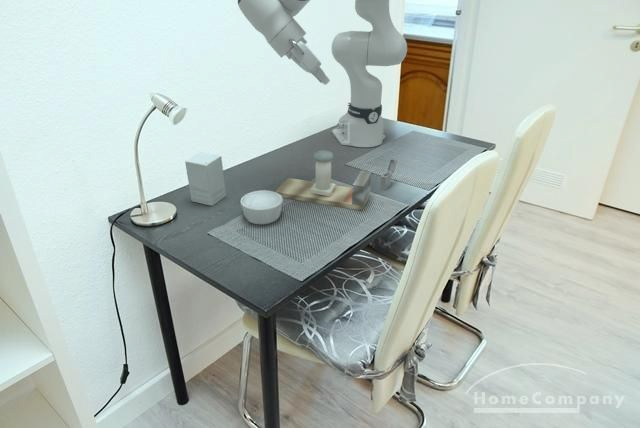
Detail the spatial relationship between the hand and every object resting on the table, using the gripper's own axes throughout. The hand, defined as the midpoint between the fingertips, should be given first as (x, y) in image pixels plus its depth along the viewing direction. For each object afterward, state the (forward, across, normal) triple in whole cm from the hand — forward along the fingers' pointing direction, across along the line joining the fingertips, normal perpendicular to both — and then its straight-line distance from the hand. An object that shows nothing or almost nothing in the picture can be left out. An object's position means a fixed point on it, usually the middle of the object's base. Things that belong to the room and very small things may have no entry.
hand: (325, 82), depth 119 cm
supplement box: (+2, +5, +47) cm, 47 cm away
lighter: (+37, +9, +6) cm, 38 cm away
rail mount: (+24, +4, +22) cm, 33 cm away
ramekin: (+14, -6, +37) cm, 40 cm away
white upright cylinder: (+22, +3, +21) cm, 31 cm away
